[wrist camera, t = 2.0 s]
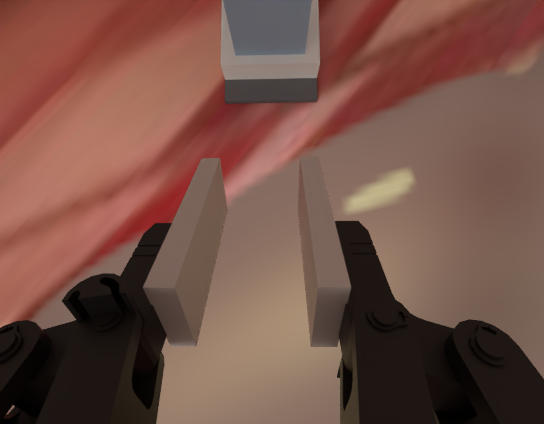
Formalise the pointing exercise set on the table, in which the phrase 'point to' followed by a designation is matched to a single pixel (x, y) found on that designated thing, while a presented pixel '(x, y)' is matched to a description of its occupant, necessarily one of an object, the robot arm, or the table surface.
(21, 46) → the table surface
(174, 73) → the table surface
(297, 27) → the block
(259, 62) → the trap deck
